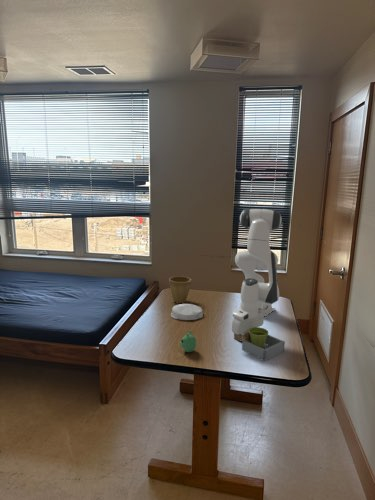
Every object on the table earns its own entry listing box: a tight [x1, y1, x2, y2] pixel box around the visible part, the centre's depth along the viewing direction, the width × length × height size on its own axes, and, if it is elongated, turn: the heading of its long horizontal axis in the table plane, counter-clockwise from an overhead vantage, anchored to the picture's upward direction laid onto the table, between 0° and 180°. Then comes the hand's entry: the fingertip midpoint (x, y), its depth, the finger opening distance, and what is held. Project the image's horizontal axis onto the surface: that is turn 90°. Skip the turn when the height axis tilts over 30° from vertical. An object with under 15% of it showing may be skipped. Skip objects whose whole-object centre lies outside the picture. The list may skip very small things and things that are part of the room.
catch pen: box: [241, 334, 286, 362], centre depth 164 cm, size 15×14×5 cm
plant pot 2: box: [249, 326, 269, 349], centre depth 166 cm, size 9×9×9 cm
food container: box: [170, 303, 204, 321], centre depth 208 cm, size 20×20×7 cm
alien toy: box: [179, 330, 197, 353], centre depth 162 cm, size 7×8×10 cm
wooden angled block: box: [233, 331, 251, 343], centre depth 173 cm, size 10×10×5 cm
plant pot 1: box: [168, 276, 192, 304], centre depth 229 cm, size 15×15×16 cm
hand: (247, 337), depth 171 cm, fingers closed on wooden angled block, 3 cm apart
